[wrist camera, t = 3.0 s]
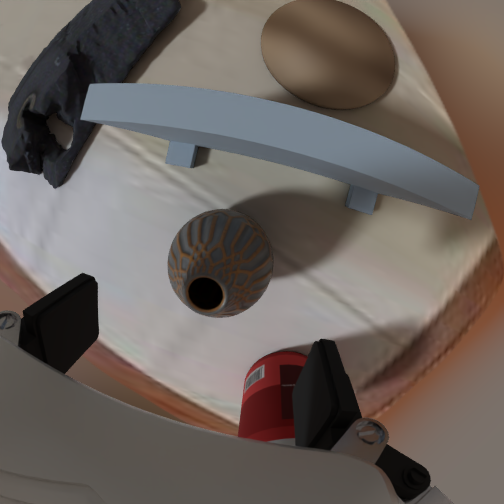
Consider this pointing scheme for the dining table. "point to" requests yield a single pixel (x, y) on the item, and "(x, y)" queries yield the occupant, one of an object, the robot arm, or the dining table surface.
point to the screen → (281, 141)
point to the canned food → (271, 398)
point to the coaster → (328, 53)
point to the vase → (220, 263)
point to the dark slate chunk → (77, 79)
